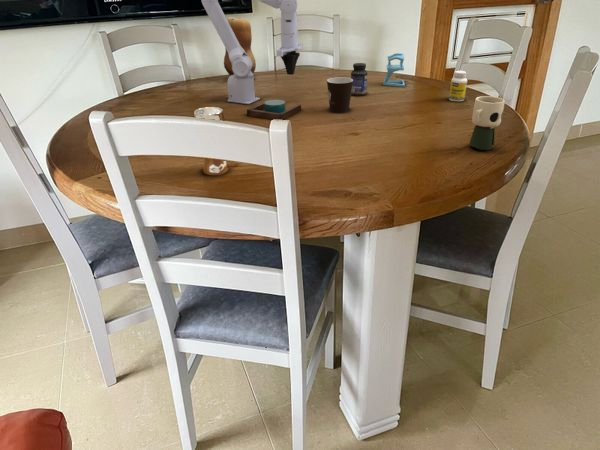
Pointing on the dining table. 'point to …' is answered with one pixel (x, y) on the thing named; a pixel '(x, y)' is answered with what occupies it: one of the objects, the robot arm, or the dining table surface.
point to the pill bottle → (359, 79)
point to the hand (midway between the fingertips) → (290, 74)
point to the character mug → (486, 121)
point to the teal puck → (275, 106)
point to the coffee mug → (339, 94)
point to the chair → (394, 68)
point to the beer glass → (212, 165)
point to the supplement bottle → (458, 86)
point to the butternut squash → (240, 41)
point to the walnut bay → (258, 112)
